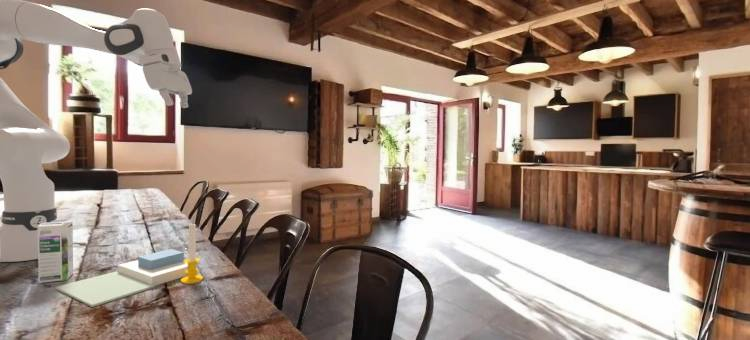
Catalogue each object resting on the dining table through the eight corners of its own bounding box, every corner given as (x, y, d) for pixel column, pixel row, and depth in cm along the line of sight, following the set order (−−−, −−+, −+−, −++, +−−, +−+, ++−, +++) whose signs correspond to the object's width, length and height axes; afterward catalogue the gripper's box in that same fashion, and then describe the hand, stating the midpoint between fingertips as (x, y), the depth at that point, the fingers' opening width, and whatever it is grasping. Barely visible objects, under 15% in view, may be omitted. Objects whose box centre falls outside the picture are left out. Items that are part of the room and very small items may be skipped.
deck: (118, 273, 96) (118, 264, 95) (162, 262, 106) (162, 254, 106) (151, 286, 88) (151, 276, 88) (196, 272, 98) (196, 263, 98)
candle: (203, 275, 96) (203, 219, 96) (202, 282, 92) (203, 223, 91) (181, 278, 94) (181, 220, 93) (180, 285, 90) (180, 224, 89)
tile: (138, 265, 95) (138, 256, 95) (171, 257, 103) (171, 249, 103) (150, 270, 92) (150, 260, 92) (183, 261, 100) (183, 252, 100)
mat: (55, 288, 85) (55, 286, 85) (116, 273, 96) (116, 271, 96) (92, 307, 76) (92, 304, 76) (154, 287, 87) (154, 285, 87)
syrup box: (37, 284, 87) (36, 226, 86) (46, 276, 92) (45, 221, 92) (67, 280, 90) (66, 224, 89) (74, 273, 95) (73, 220, 94)
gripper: (172, 71, 121) (184, 110, 122) (134, 58, 100) (149, 106, 102) (190, 66, 121) (202, 106, 123) (156, 53, 101) (171, 101, 102)
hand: (177, 106), depth 112 cm, fingers open, 8 cm apart
